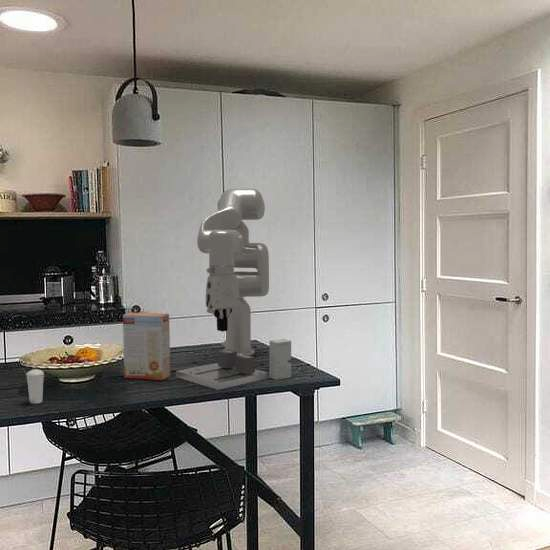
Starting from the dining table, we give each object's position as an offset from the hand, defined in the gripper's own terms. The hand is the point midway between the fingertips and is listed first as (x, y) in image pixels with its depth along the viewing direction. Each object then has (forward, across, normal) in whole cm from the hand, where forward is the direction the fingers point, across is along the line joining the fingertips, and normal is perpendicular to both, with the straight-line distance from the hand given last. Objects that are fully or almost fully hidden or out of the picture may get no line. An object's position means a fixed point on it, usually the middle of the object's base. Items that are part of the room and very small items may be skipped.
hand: (222, 330), depth 189 cm
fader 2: (+14, +9, 0) cm, 17 cm away
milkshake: (+17, -50, +21) cm, 57 cm away
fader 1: (+14, +10, +10) cm, 20 cm away
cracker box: (+17, -12, +24) cm, 32 cm away
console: (+17, +5, +7) cm, 19 cm away
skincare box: (+17, +19, -6) cm, 26 cm away
